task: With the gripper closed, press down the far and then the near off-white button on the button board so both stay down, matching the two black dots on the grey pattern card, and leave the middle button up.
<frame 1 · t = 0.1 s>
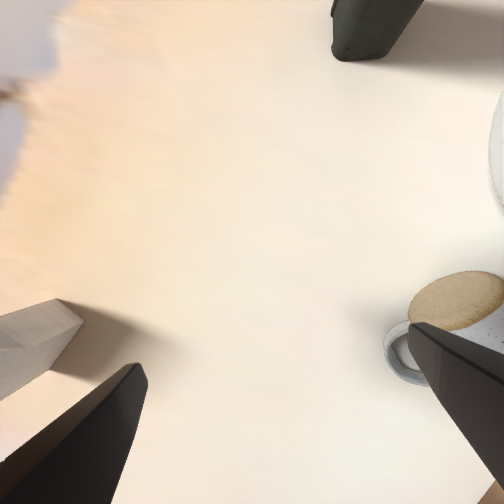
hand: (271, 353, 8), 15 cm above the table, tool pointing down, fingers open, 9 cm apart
ceramic mug: (433, 328, 24), on the table
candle: (360, 30, 22), on the table
grey angular block: (54, 333, 26), on the table
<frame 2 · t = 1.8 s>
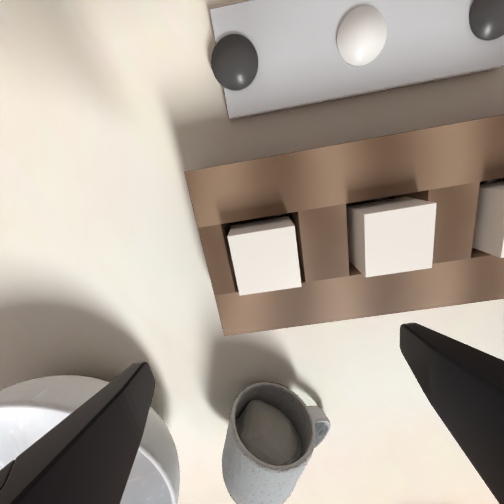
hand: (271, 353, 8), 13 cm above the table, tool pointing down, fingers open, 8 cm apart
button board: (361, 222, 20), on the table
ceramic mug: (275, 407, 27), on the table
pattern card: (357, 42, 16), on the table
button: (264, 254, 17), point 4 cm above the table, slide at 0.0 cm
middle button: (386, 235, 16), point 4 cm above the table, slide at 0.0 cm
serving bowl: (101, 419, 28), on the table
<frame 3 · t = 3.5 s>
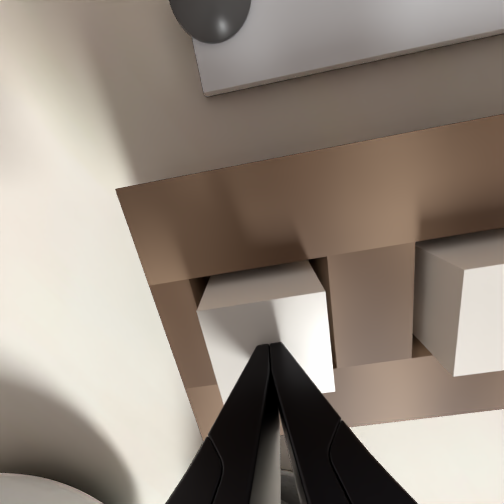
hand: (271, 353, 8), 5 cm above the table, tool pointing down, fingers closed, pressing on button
button board: (416, 256, 13), on the table
ceramic mug: (289, 496, 20), on the table
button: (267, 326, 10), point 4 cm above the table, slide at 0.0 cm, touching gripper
middle button: (483, 294, 9), point 4 cm above the table, slide at 0.0 cm
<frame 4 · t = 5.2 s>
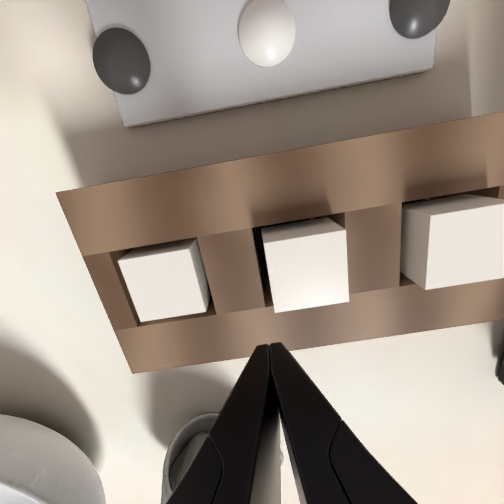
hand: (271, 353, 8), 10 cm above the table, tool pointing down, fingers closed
button board: (290, 241, 18), on the table
ceramic mug: (227, 437, 25), on the table
pattern card: (266, 39, 14), on the table
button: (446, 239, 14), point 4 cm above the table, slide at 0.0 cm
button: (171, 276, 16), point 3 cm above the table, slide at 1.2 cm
middle button: (302, 262, 14), point 4 cm above the table, slide at 0.0 cm
serving bowl: (28, 453, 25), on the table
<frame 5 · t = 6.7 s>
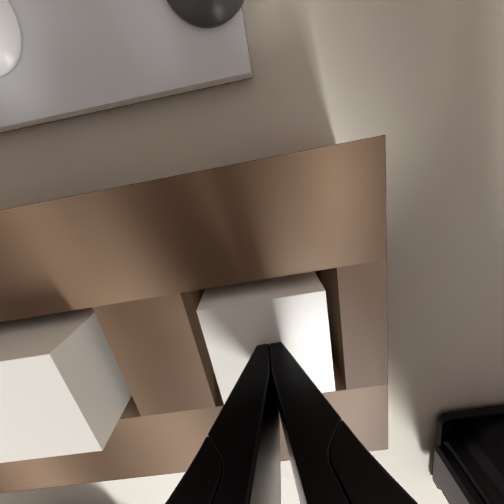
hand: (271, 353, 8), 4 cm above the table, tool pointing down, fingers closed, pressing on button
button board: (112, 314, 13), on the table
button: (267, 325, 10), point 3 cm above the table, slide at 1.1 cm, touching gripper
middle button: (54, 376, 9), point 4 cm above the table, slide at 0.0 cm
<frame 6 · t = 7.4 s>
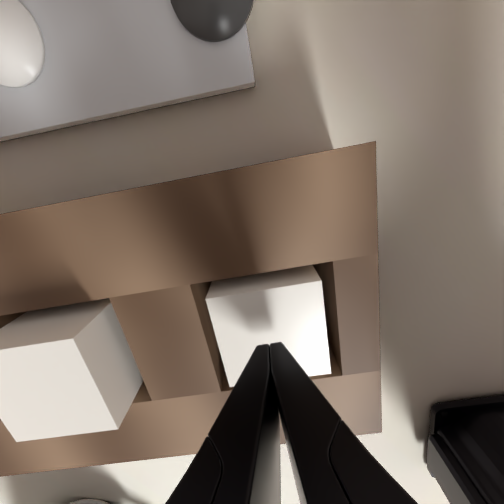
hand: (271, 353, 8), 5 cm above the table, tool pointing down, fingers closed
button board: (122, 308, 14), on the table
pattern card: (18, 48, 10), on the table
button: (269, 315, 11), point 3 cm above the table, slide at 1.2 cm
middle button: (72, 362, 10), point 4 cm above the table, slide at 0.0 cm
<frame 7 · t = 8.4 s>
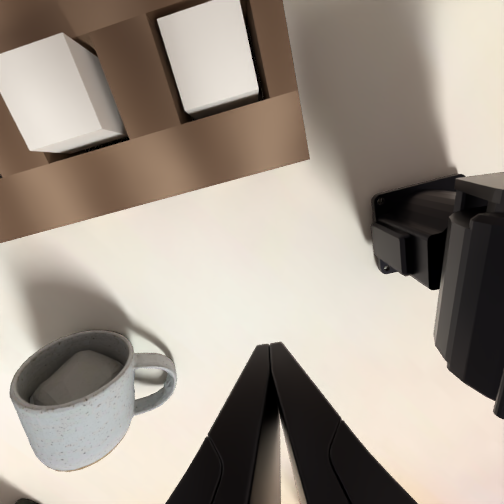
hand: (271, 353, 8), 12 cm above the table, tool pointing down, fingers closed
button board: (108, 117, 17), on the table
ceramic mug: (123, 361, 24), on the table
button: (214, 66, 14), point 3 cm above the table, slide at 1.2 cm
middle button: (67, 103, 13), point 4 cm above the table, slide at 0.0 cm
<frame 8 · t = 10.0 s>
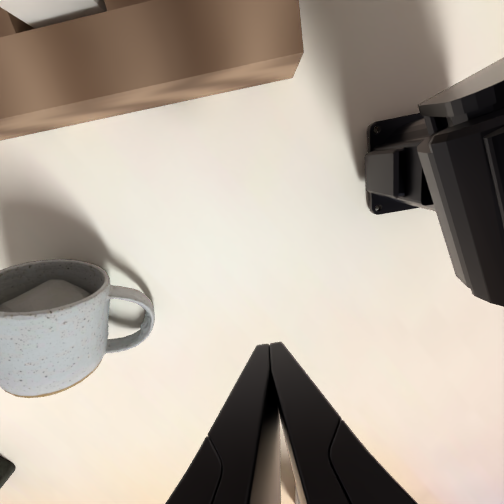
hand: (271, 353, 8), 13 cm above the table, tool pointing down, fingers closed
button board: (90, 8, 16), on the table
ceramic mug: (99, 299, 23), on the table
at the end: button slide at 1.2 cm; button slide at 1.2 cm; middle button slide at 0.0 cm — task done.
